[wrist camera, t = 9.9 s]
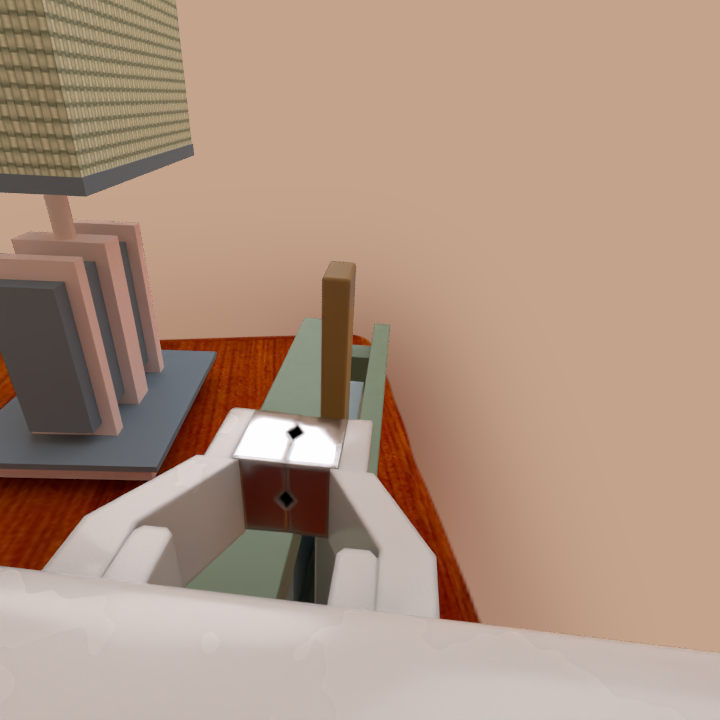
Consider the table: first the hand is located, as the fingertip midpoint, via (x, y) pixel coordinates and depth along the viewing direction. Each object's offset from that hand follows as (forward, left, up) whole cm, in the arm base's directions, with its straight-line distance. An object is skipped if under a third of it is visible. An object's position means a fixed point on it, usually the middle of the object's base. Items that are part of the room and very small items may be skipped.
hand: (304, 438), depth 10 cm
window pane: (0, -9, -17) cm, 19 cm away
